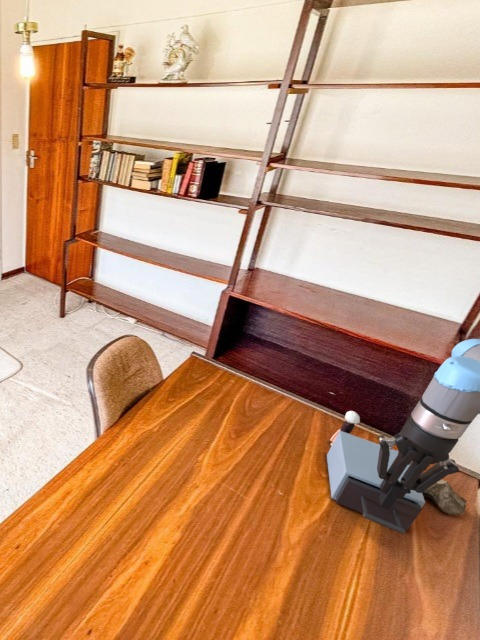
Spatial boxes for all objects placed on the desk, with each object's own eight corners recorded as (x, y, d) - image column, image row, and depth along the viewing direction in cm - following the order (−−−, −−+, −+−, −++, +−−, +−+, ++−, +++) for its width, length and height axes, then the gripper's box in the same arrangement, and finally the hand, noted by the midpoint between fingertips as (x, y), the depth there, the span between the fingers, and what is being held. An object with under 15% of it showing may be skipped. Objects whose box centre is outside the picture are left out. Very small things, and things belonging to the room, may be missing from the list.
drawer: (412, 555, 86) (429, 533, 83) (338, 522, 93) (351, 500, 89) (393, 484, 103) (406, 463, 99) (331, 461, 109) (342, 440, 105)
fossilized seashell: (476, 510, 95) (431, 479, 105) (471, 492, 93) (425, 462, 103) (448, 525, 95) (405, 492, 105) (443, 507, 94) (400, 476, 103)
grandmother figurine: (333, 435, 118) (349, 403, 113) (348, 443, 116) (366, 410, 110) (324, 448, 114) (341, 415, 108) (340, 456, 111) (358, 423, 106)
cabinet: (406, 529, 93) (425, 502, 89) (331, 498, 99) (346, 471, 95) (392, 480, 105) (408, 454, 101) (326, 455, 112) (339, 430, 107)
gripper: (396, 424, 80) (350, 501, 90) (485, 454, 74) (425, 532, 84) (389, 402, 86) (346, 477, 96) (471, 428, 80) (416, 504, 90)
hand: (383, 502), depth 90 cm, fingers closed
